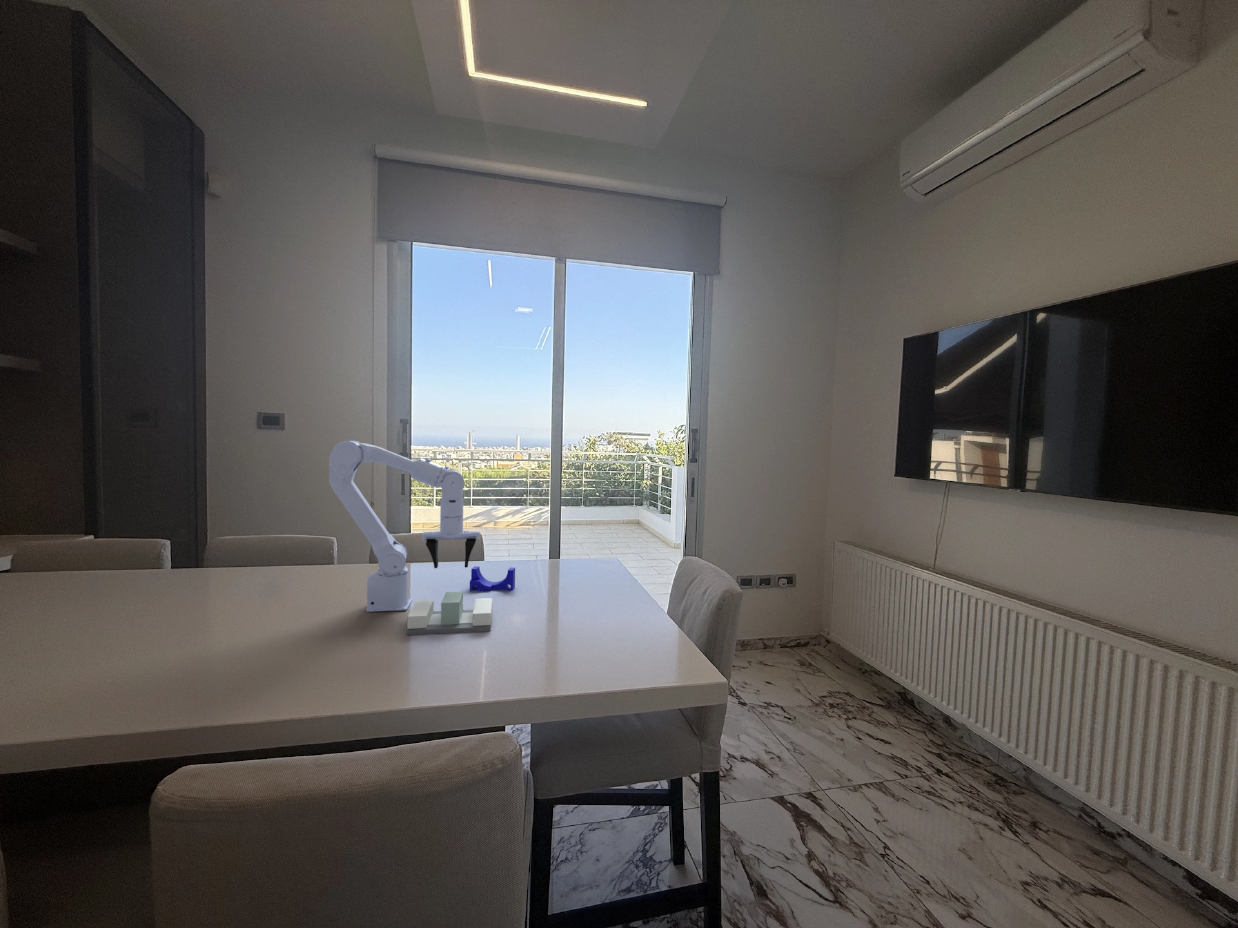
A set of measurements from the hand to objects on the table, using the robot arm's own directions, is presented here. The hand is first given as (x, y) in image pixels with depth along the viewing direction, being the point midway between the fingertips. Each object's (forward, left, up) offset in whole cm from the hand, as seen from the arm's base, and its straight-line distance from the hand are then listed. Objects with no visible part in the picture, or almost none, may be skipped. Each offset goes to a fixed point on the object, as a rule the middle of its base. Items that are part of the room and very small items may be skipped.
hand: (451, 566), depth 138 cm
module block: (+2, -16, -8) cm, 18 cm away
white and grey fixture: (+2, -16, -9) cm, 19 cm away
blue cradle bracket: (+10, +11, -10) cm, 18 cm away
